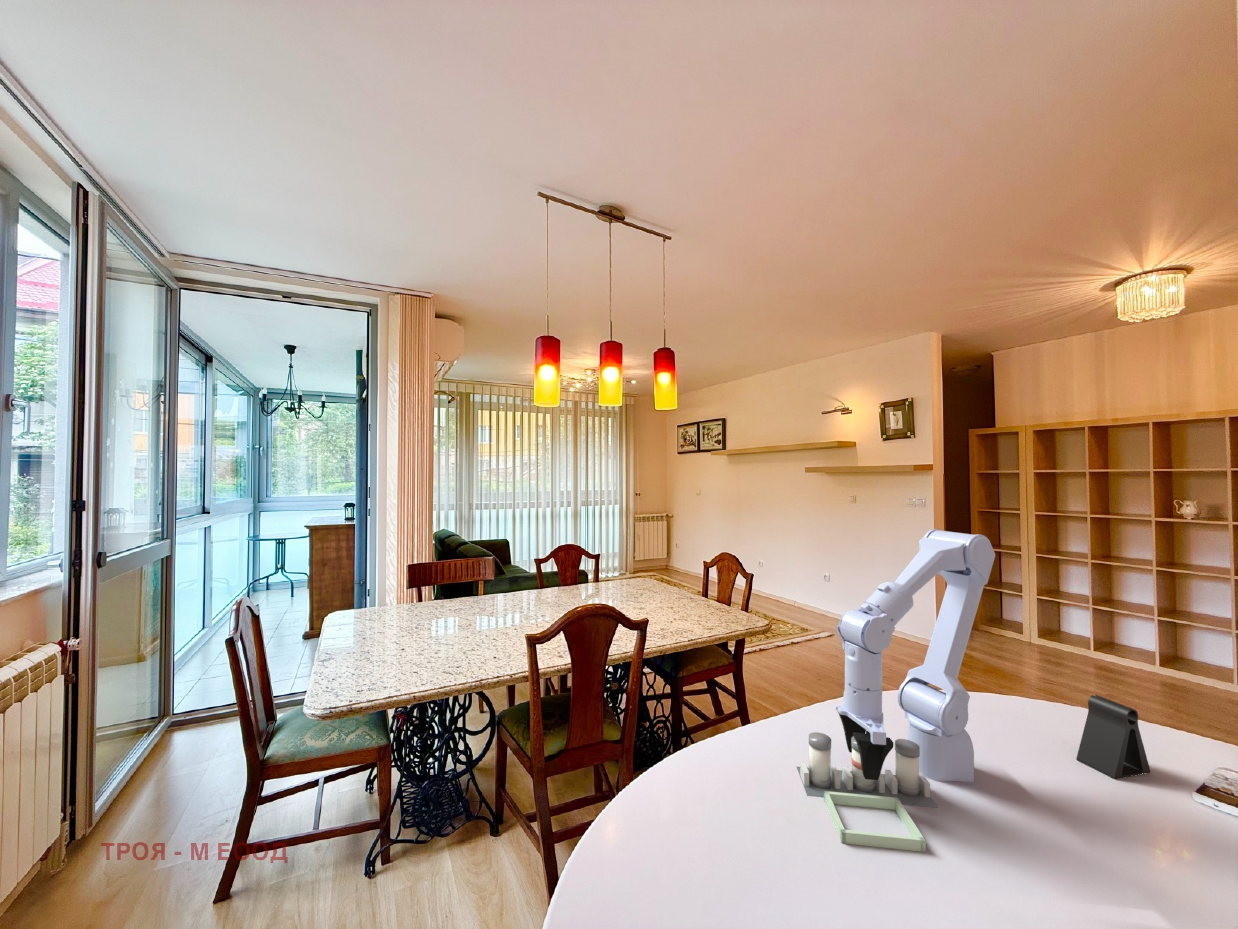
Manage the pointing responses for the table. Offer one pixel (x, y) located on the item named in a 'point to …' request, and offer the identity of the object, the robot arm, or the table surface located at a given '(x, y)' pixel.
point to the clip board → (883, 787)
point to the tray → (870, 838)
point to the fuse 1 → (820, 760)
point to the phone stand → (1112, 740)
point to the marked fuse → (859, 771)
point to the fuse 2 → (907, 767)
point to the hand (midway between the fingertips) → (862, 764)
